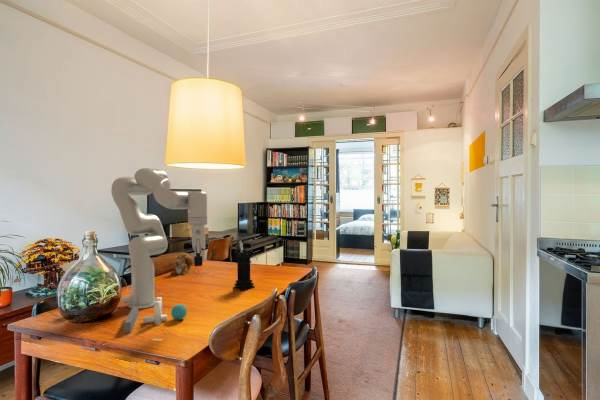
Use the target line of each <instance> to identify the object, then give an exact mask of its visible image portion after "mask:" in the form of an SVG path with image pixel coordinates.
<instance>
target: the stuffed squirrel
mask: <svg viewBox="0 0 600 400" xmlns="http://www.w3.org/2000/svg"><path fill="white" fill-rule="evenodd" d="M174 260H175V261H177V262H175V263H174V265H173V267H174V270H172V271H171V272H170V273H169V274H170V275H182V276H186V275H188V274H189V271H190V269H191V267H192V265H193V264H194V258H193V257H191V256H188V254H187V253H186V254H185V253H181V252H180V253H178V254H177V257H176V258H175V259H174Z"/></svg>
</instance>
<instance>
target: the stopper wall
mask: <svg viewBox="0 0 600 400" xmlns="http://www.w3.org/2000/svg"><path fill="white" fill-rule="evenodd" d="M138 318H139V309H138V306H137V307H133V308H131V309H130V312H129V313H128V315H127V318H126V319H125V321H124V322H123V323H124V334H125V333H127V334H131V333H132V331H133V329H134V327H135V324H136V322H137V320H138Z"/></svg>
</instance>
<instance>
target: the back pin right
mask: <svg viewBox="0 0 600 400" xmlns="http://www.w3.org/2000/svg"><path fill="white" fill-rule="evenodd" d="M153 312H154V313H153V316H154V322H153V323H154V325H155V326H156V325H161V324H162V321H161V301H155V302H154V306H153Z"/></svg>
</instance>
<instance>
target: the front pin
mask: <svg viewBox="0 0 600 400" xmlns="http://www.w3.org/2000/svg"><path fill="white" fill-rule="evenodd" d="M142 318H143V320H142V322H143V324H149V323H154V315H148V316H143V317H142ZM167 321H168V314H162V315H161V322H167Z"/></svg>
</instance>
